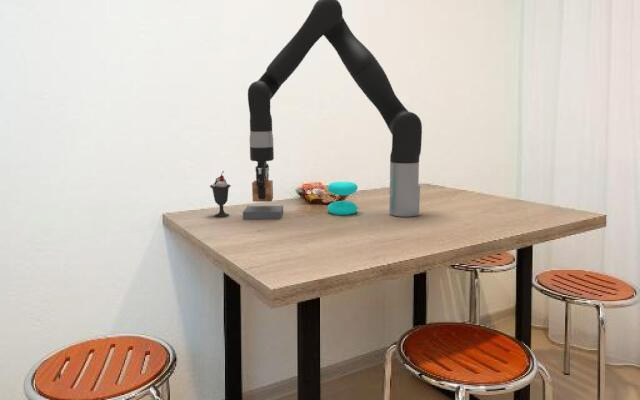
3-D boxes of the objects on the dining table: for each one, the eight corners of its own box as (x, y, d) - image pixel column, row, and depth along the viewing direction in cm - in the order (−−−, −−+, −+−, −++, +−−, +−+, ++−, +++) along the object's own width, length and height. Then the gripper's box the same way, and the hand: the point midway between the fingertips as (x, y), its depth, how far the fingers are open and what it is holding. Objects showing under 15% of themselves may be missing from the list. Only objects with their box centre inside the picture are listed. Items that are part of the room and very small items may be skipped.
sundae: (227, 218, 157) (225, 171, 154) (208, 217, 158) (205, 171, 155) (235, 213, 163) (233, 169, 160) (216, 213, 164) (214, 169, 162)
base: (283, 214, 164) (283, 205, 163) (280, 220, 154) (280, 211, 154) (247, 214, 164) (247, 205, 163) (243, 221, 154) (242, 211, 154)
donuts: (336, 186, 155) (322, 182, 164) (336, 216, 157) (322, 211, 166) (363, 184, 159) (348, 180, 168) (362, 213, 161) (348, 208, 170)
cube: (273, 198, 161) (272, 180, 160) (271, 201, 155) (270, 182, 154) (255, 198, 161) (254, 180, 160) (252, 201, 155) (252, 183, 154)
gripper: (271, 147, 148) (272, 201, 151) (275, 144, 162) (276, 193, 165) (246, 147, 148) (248, 201, 151) (252, 144, 162) (254, 193, 165)
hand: (263, 197), depth 158 cm, fingers closed on cube, 6 cm apart
